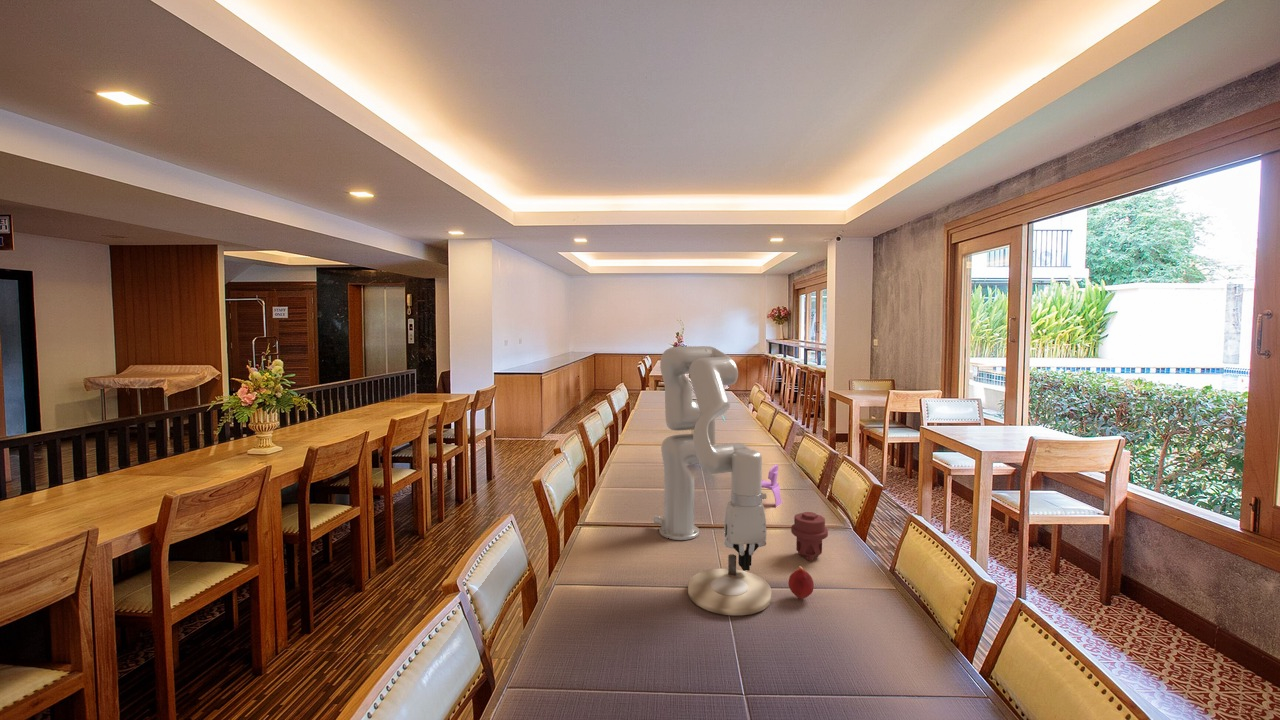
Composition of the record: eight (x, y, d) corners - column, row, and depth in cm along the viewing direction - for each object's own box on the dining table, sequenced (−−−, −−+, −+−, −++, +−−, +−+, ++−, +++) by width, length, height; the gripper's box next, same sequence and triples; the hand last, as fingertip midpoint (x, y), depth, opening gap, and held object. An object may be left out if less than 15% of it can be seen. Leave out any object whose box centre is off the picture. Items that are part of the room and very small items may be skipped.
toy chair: (761, 498, 205) (762, 459, 204) (783, 502, 200) (784, 463, 199) (752, 504, 199) (753, 464, 198) (775, 508, 193) (775, 467, 193)
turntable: (680, 608, 123) (680, 581, 123) (695, 570, 142) (695, 547, 142) (769, 621, 118) (770, 592, 117) (772, 580, 137) (772, 555, 136)
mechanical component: (824, 550, 156) (829, 565, 147) (789, 547, 158) (792, 562, 149) (825, 509, 156) (830, 521, 146) (790, 507, 158) (792, 518, 148)
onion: (813, 595, 130) (814, 563, 130) (813, 606, 125) (813, 573, 124) (789, 591, 132) (789, 560, 131) (787, 602, 126) (787, 569, 126)
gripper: (769, 493, 140) (767, 560, 141) (713, 494, 139) (712, 563, 140) (779, 502, 133) (778, 573, 134) (721, 504, 131) (720, 576, 132)
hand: (744, 568), depth 137 cm, fingers closed
